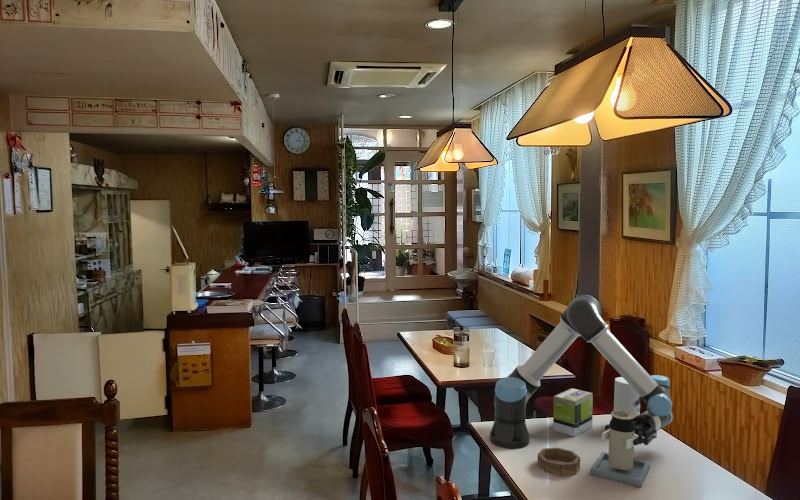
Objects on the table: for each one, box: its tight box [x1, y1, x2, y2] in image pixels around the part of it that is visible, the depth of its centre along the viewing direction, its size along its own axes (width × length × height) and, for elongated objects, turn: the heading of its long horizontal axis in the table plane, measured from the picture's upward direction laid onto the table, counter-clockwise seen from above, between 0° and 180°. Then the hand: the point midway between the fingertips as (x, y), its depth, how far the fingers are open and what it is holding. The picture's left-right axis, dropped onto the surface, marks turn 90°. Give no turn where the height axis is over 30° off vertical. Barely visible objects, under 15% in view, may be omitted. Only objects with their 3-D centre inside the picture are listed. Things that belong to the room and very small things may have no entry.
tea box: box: [552, 387, 594, 437], centre depth 237 cm, size 15×10×15 cm
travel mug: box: [608, 410, 635, 470], centre depth 198 cm, size 8×8×18 cm
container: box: [613, 376, 641, 417], centre depth 239 cm, size 10×10×20 cm
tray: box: [590, 451, 651, 489], centre depth 199 cm, size 16×16×2 cm
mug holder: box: [536, 447, 581, 477], centre depth 202 cm, size 13×13×4 cm
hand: (614, 440), depth 195 cm, fingers closed on travel mug, 8 cm apart
